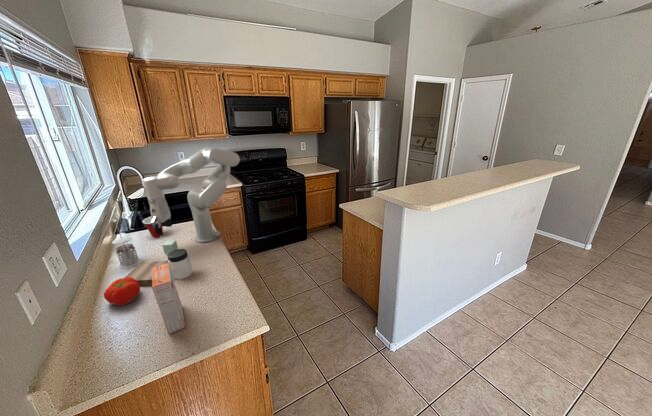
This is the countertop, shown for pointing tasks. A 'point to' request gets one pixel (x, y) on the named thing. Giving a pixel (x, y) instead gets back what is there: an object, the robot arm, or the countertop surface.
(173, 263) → the jar
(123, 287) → the tomato
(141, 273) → the walnut base
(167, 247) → the sage block
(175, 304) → the cracker box
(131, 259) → the french press
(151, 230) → the plastic cup
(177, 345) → the countertop surface
